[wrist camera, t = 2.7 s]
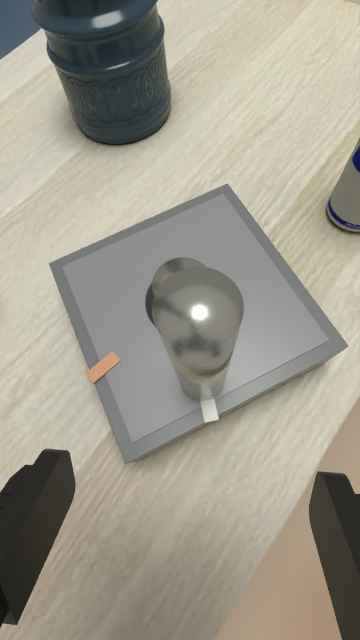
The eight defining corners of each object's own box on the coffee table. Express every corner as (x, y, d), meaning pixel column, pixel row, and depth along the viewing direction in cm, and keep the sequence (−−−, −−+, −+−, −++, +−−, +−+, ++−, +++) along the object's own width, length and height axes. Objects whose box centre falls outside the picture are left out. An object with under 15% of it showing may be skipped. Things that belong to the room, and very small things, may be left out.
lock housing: (68, 290, 33) (43, 262, 28) (224, 218, 34) (227, 180, 29) (137, 466, 26) (121, 470, 21) (327, 365, 28) (353, 348, 23)
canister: (105, 163, 39) (32, -42, 23) (60, 108, 43) (-29, -96, 27) (191, 115, 41) (181, -106, 24) (139, 67, 45) (101, -146, 29)
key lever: (152, 280, 26) (108, 145, 14) (205, 269, 26) (203, 124, 14) (176, 406, 22) (142, 363, 10) (237, 393, 22) (273, 335, 10)
